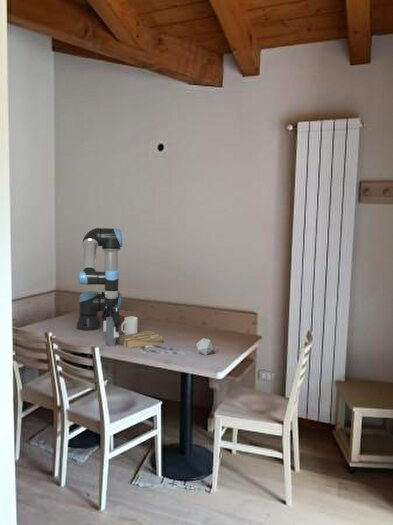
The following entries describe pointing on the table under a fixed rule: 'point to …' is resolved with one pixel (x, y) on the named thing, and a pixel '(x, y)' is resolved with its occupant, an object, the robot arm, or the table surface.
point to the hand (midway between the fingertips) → (110, 334)
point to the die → (204, 346)
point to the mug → (130, 325)
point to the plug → (110, 332)
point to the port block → (140, 339)
